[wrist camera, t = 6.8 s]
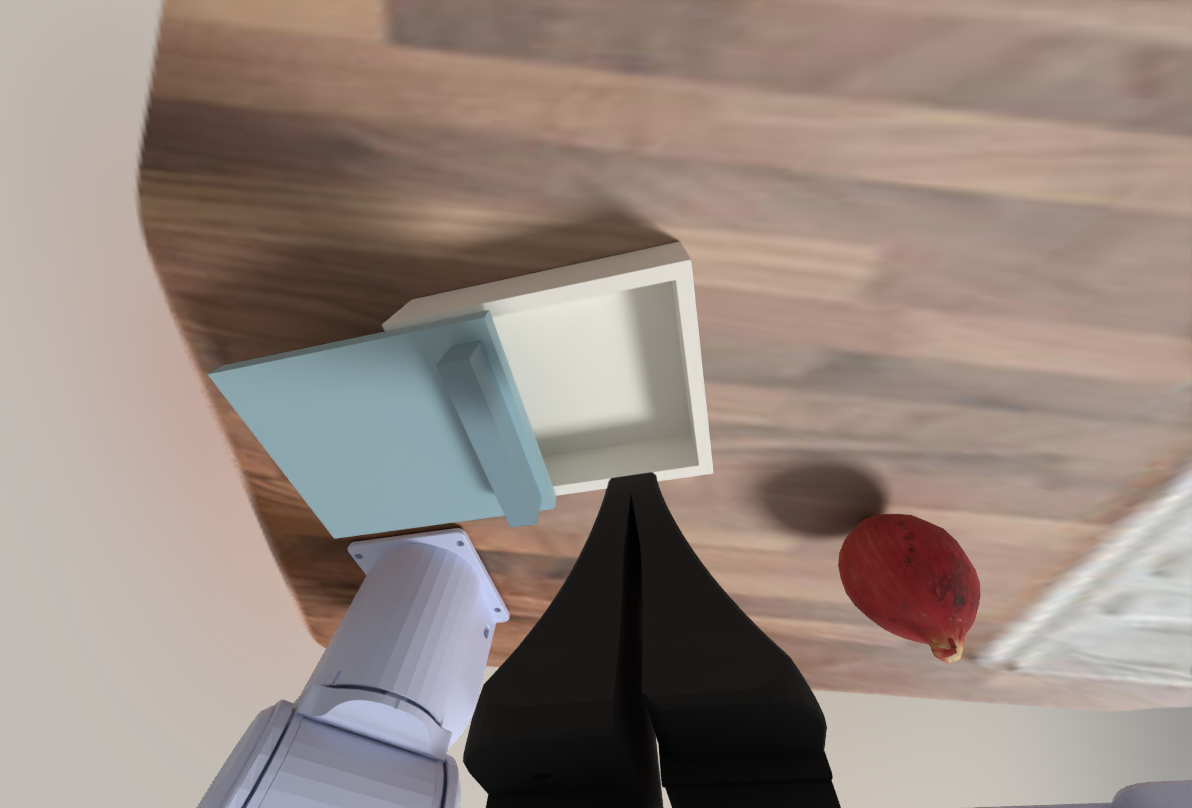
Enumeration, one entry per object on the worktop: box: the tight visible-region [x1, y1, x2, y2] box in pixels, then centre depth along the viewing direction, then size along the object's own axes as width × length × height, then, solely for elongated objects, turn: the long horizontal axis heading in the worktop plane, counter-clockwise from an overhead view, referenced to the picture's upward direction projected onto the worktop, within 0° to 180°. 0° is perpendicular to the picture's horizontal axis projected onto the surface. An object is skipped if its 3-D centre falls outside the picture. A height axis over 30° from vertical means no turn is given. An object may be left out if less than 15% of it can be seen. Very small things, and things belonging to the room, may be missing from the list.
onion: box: [838, 514, 980, 664], centre depth 23 cm, size 6×6×8 cm
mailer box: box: [382, 241, 713, 495], centre depth 20 cm, size 10×12×3 cm
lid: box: [208, 310, 557, 539], centre depth 19 cm, size 10×12×2 cm
